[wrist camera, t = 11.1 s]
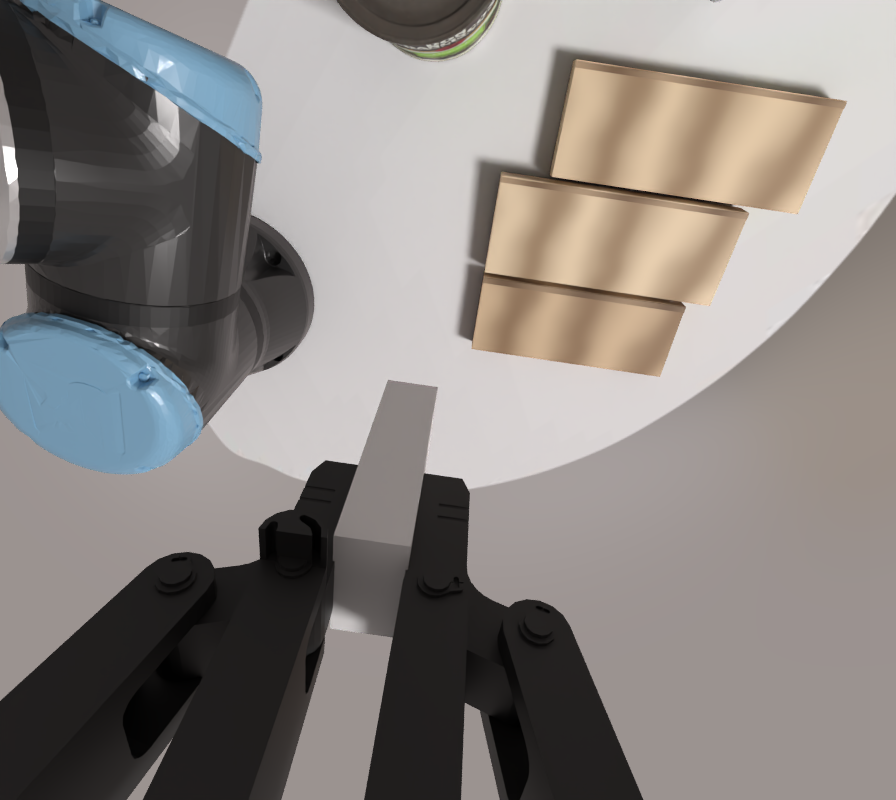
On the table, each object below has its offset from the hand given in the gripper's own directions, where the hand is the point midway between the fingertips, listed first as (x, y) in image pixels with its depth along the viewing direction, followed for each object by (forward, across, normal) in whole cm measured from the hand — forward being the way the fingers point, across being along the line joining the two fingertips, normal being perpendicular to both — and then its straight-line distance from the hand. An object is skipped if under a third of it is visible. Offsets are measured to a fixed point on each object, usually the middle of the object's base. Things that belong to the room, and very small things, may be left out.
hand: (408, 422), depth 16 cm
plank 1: (+34, +17, +8) cm, 39 cm away
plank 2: (+34, +13, 0) cm, 36 cm away
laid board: (+34, +12, -8) cm, 37 cm away
